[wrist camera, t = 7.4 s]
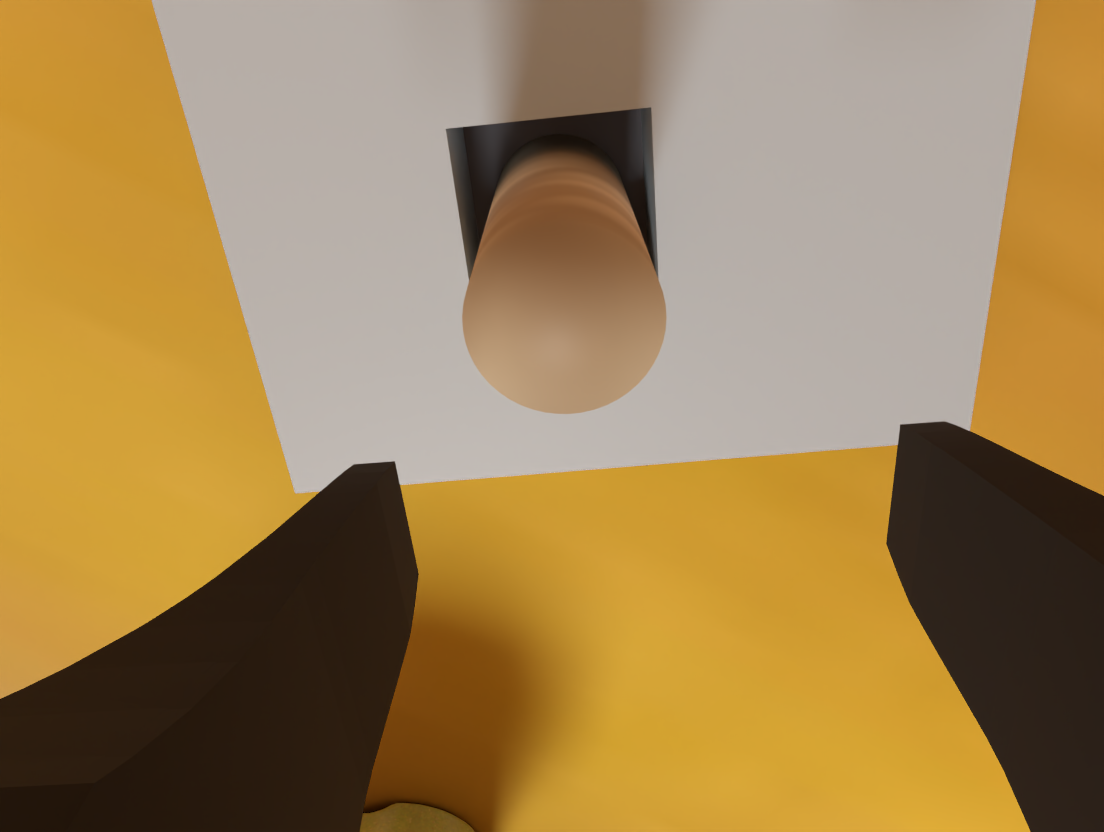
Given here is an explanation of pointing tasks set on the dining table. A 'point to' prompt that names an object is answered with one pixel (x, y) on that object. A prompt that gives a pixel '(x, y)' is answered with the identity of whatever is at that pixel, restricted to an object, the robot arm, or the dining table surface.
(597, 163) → the dowel
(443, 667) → the dining table surface
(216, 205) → the hole board
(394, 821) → the plant pot
